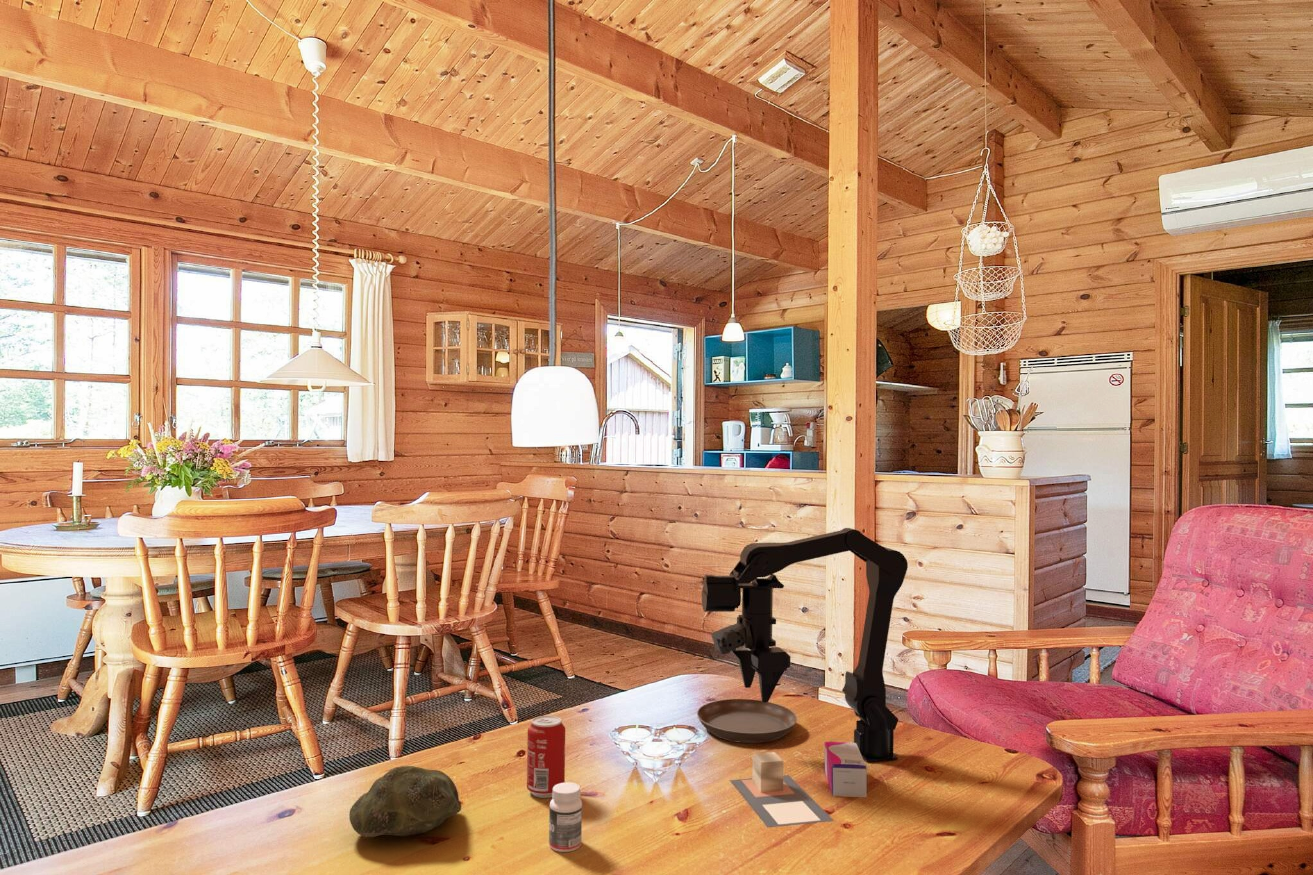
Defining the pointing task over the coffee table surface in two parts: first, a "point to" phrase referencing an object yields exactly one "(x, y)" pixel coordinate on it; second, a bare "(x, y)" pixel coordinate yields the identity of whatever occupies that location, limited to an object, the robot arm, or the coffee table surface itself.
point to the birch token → (767, 772)
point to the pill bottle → (565, 818)
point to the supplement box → (845, 769)
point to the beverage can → (545, 755)
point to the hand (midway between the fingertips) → (756, 694)
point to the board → (782, 804)
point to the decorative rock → (405, 803)
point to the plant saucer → (746, 720)
